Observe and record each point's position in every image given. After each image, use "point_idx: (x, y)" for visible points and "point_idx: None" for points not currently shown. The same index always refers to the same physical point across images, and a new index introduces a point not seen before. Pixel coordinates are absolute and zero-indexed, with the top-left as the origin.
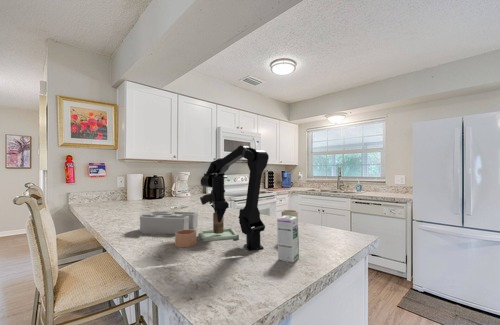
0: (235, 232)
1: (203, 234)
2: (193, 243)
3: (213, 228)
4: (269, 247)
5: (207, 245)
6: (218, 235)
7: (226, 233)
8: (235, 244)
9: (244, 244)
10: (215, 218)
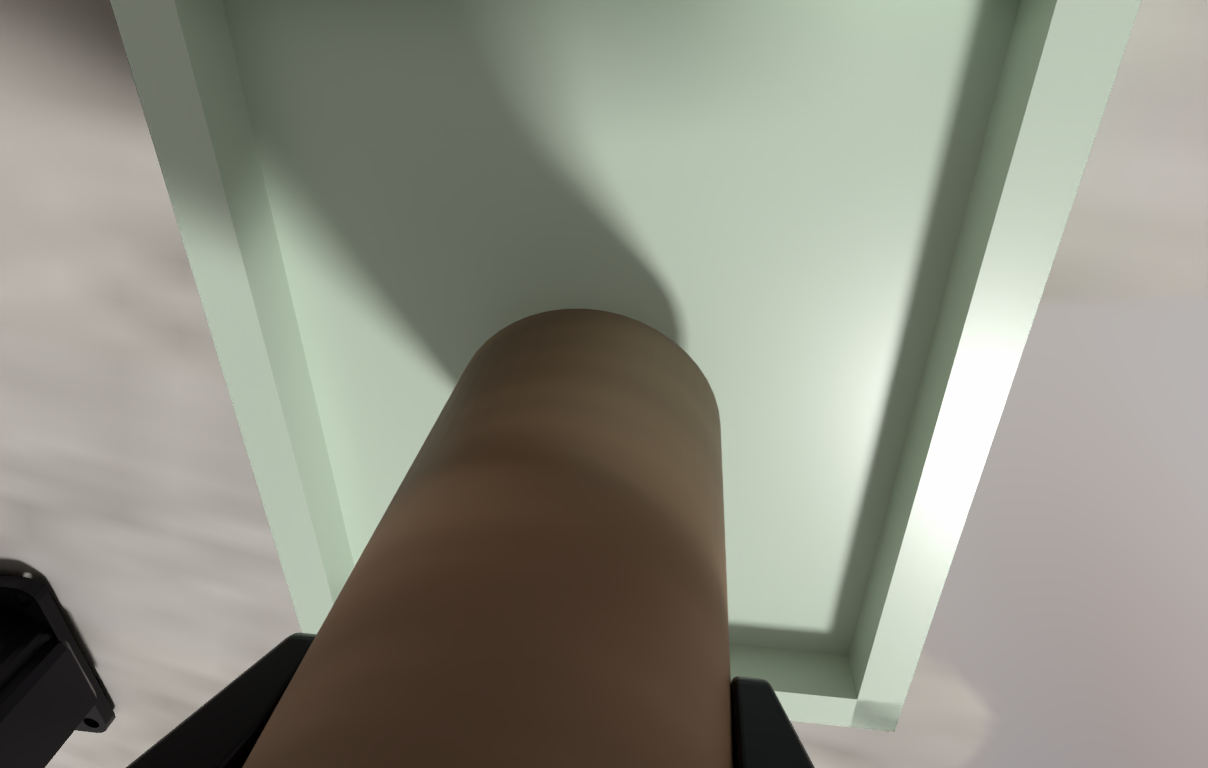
0: None
1: (874, 25)
2: None
3: (537, 371)
4: None
5: (26, 17)
6: None
7: None
8: (109, 505)
9: (24, 596)
10: (291, 695)
